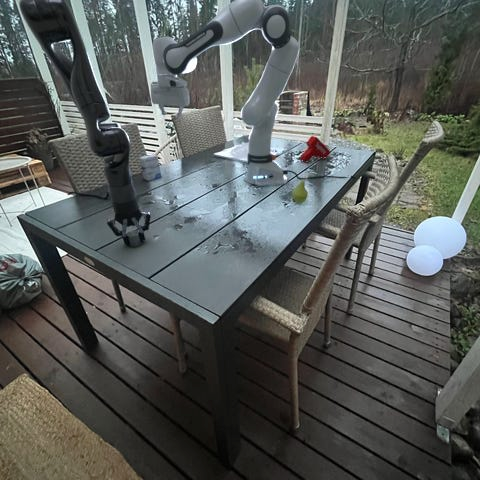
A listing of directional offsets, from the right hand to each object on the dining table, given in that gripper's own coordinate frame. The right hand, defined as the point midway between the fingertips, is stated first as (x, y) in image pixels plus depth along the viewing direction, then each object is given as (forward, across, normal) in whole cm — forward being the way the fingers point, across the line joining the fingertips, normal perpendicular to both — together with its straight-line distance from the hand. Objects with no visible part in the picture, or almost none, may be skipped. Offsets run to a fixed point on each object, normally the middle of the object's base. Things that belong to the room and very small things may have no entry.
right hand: (171, 115), depth 128 cm
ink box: (+32, -16, -4) cm, 36 cm away
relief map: (+32, +9, +59) cm, 68 cm away
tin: (+32, +26, -56) cm, 69 cm away
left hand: (+32, +26, -56) cm, 69 cm away
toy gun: (+32, +53, +70) cm, 93 cm away
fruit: (+32, +65, +4) cm, 73 cm away
